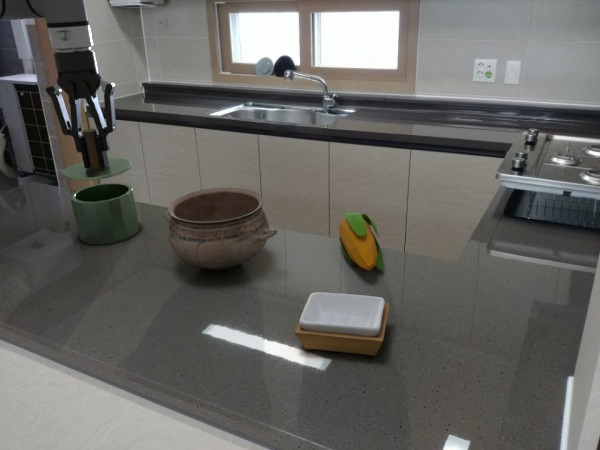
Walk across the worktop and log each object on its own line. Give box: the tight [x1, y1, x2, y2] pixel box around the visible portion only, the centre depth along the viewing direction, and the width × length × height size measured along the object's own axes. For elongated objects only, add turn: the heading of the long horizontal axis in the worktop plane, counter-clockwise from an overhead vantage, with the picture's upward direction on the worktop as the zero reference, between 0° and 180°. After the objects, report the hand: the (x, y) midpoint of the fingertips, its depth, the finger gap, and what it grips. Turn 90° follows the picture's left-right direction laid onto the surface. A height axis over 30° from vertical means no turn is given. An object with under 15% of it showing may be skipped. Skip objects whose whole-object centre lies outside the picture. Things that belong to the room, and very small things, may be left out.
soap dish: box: [294, 291, 390, 357], centre depth 79 cm, size 12×10×5 cm
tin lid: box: [62, 128, 132, 182], centre depth 112 cm, size 14×14×9 cm
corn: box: [338, 212, 384, 271], centre depth 101 cm, size 7×8×20 cm
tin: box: [70, 182, 140, 246], centre depth 117 cm, size 13×13×10 cm
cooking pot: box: [164, 187, 278, 272], centre depth 101 cm, size 25×19×12 cm
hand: (96, 166), depth 113 cm, fingers closed on tin lid, 3 cm apart
